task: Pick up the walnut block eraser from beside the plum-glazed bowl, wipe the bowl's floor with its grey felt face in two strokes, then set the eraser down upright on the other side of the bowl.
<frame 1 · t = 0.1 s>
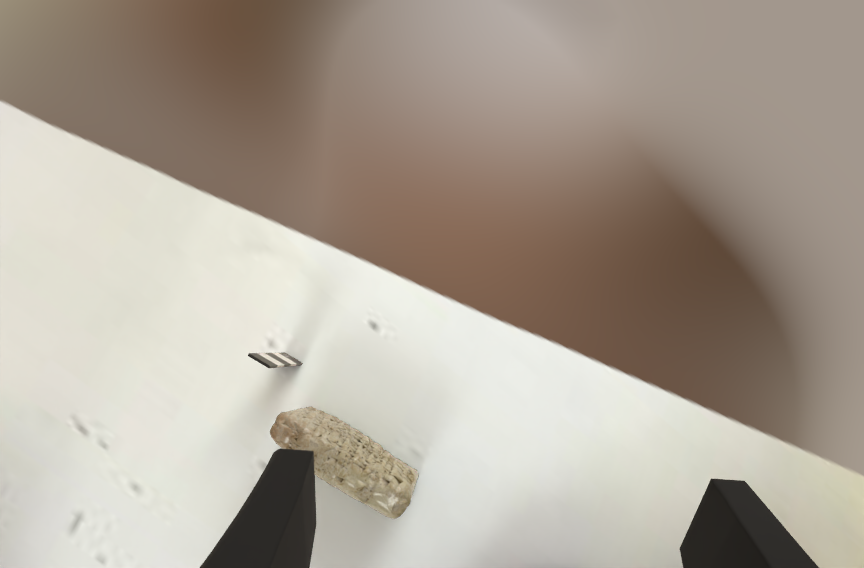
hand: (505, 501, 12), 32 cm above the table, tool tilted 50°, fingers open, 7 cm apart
cuneiform tablet: (339, 433, 44), on the table
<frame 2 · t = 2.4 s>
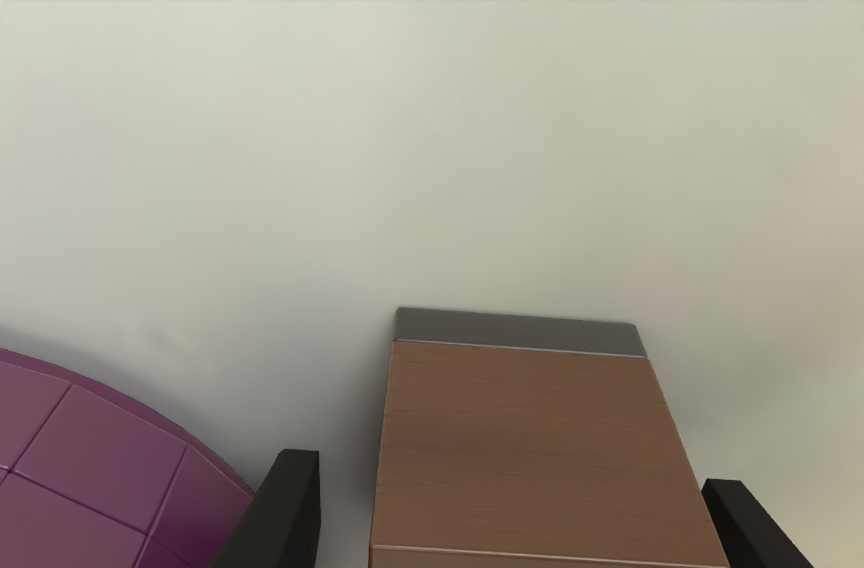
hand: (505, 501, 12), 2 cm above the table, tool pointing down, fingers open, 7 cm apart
eraser: (496, 430, 14), on the table
bowl: (8, 557, 17), on the table, touching gripper
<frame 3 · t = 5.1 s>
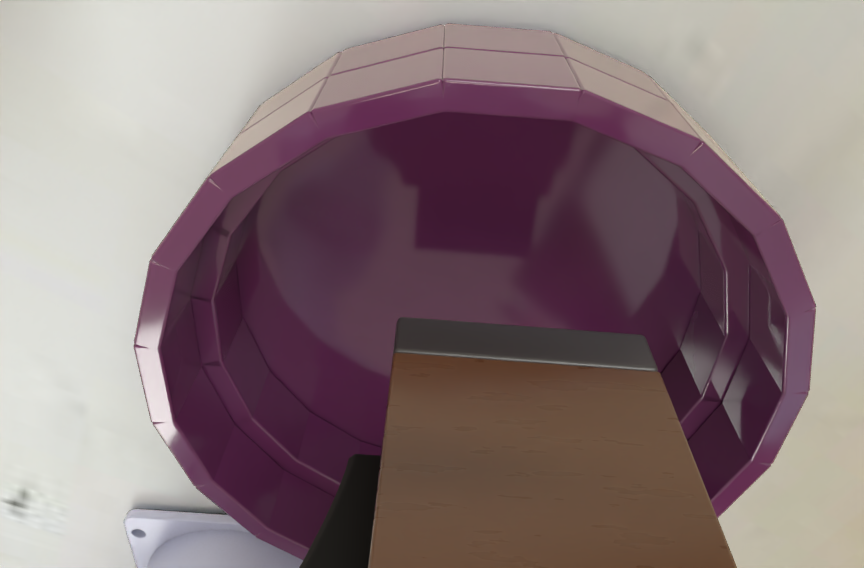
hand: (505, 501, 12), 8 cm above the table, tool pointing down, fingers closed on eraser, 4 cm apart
eraser: (500, 443, 13), point 7 cm above the table, touching gripper
bowl: (465, 288, 20), on the table
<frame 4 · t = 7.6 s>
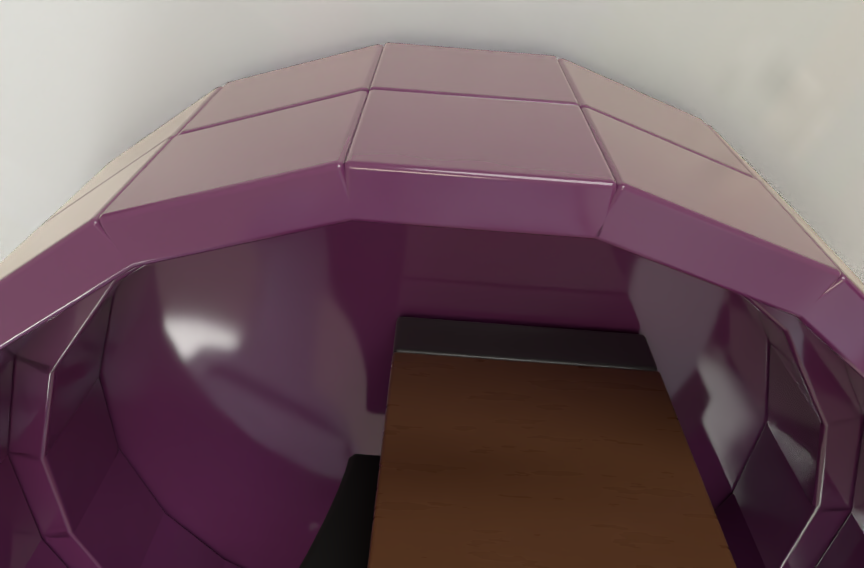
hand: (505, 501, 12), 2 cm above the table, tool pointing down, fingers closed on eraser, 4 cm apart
eraser: (499, 442, 13), point 1 cm above the table, touching gripper
bowl: (433, 407, 14), on the table
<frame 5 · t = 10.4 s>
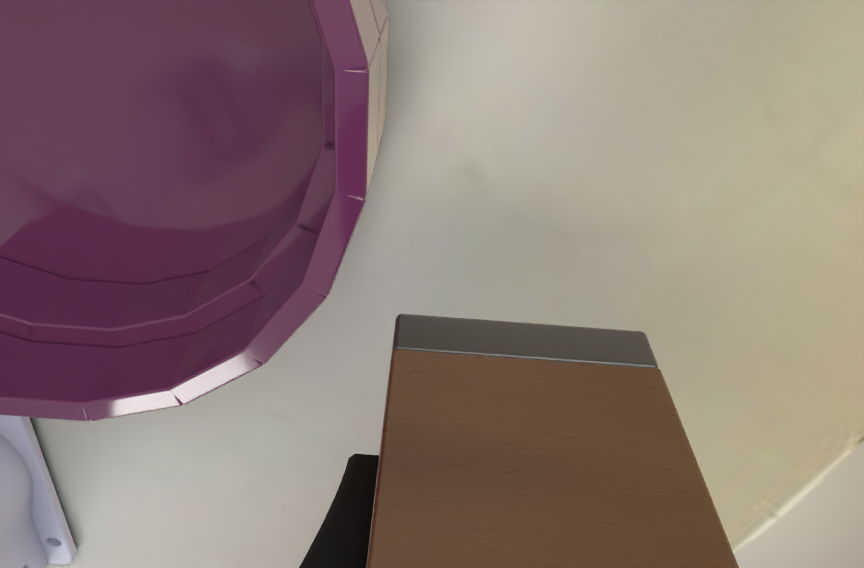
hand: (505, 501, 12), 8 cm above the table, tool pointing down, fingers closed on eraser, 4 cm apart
eraser: (499, 440, 13), point 7 cm above the table, touching gripper
bowl: (68, 34, 16), on the table
when the fingers open (1 cm above the table, at t = 12.5 s): eraser stays where it is, on the table.
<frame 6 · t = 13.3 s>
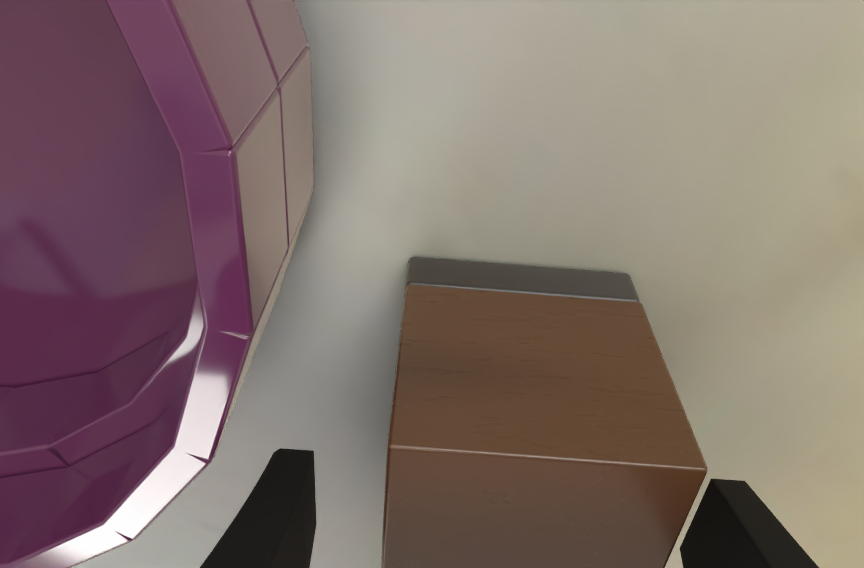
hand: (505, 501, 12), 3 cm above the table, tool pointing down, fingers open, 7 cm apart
eraser: (500, 377, 15), on the table
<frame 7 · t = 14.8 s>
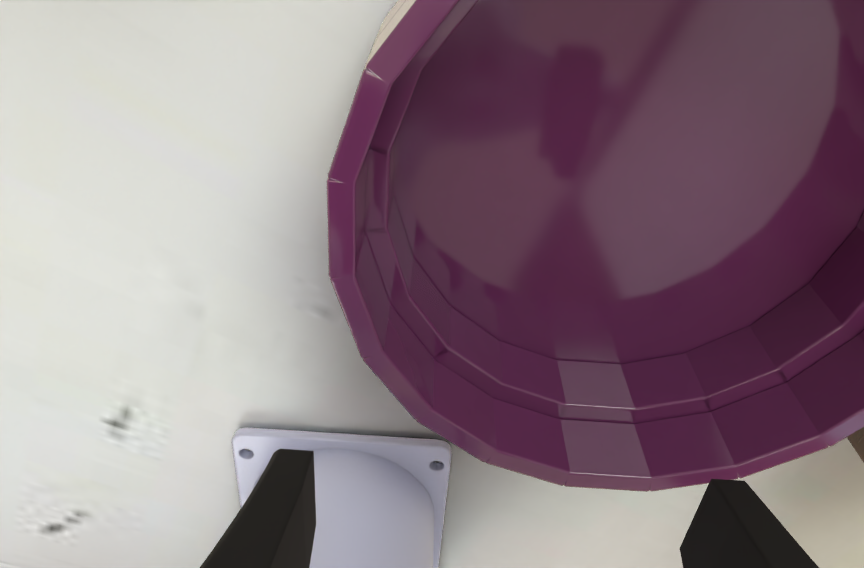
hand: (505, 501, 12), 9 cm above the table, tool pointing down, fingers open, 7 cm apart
bowl: (628, 163, 19), on the table
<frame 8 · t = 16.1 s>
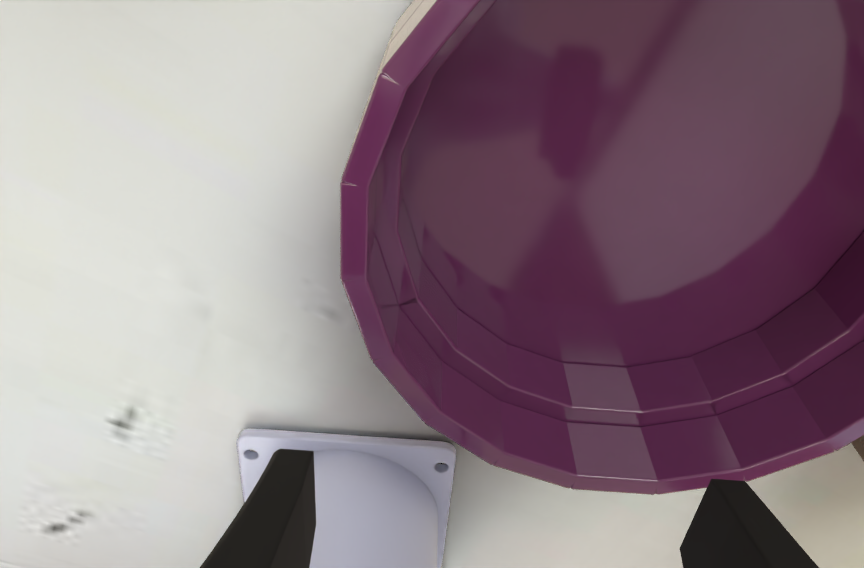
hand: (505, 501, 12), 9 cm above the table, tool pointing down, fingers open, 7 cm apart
bowl: (636, 168, 19), on the table
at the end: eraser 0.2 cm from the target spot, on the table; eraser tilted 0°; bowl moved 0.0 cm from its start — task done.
